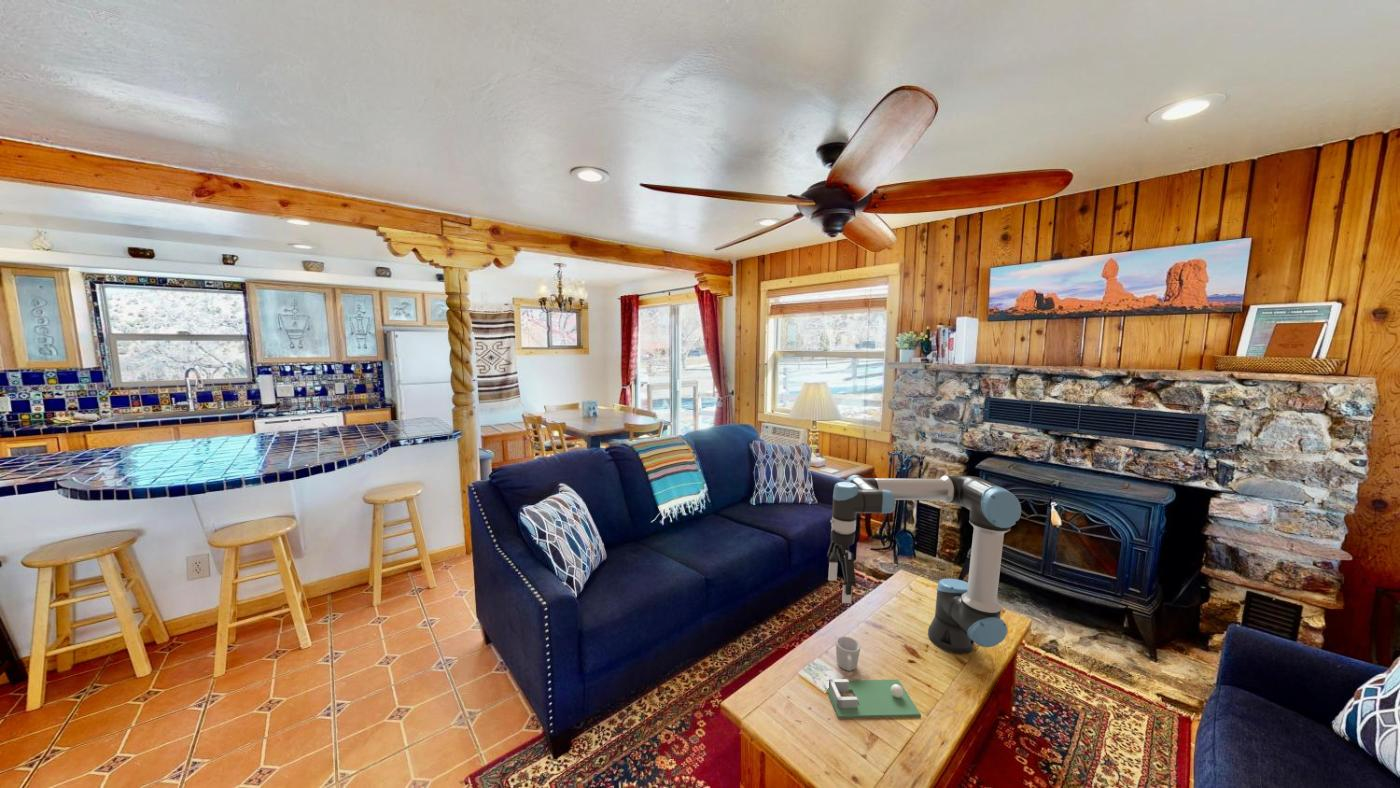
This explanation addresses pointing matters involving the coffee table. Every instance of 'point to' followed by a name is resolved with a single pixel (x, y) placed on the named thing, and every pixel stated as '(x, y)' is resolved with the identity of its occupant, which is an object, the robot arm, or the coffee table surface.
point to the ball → (897, 691)
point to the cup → (847, 652)
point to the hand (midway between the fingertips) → (839, 590)
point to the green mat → (876, 701)
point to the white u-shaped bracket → (843, 685)
